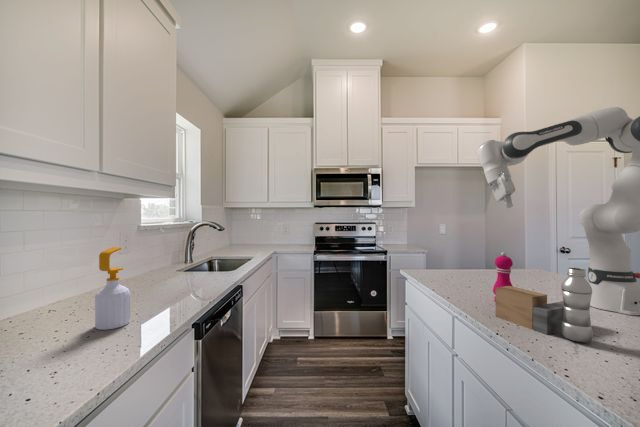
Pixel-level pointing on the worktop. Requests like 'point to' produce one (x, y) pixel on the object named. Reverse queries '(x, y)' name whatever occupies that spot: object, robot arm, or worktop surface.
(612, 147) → the robot arm
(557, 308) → the charcoal board
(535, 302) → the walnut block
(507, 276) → the pepper mill
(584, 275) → the silver metal bottle
